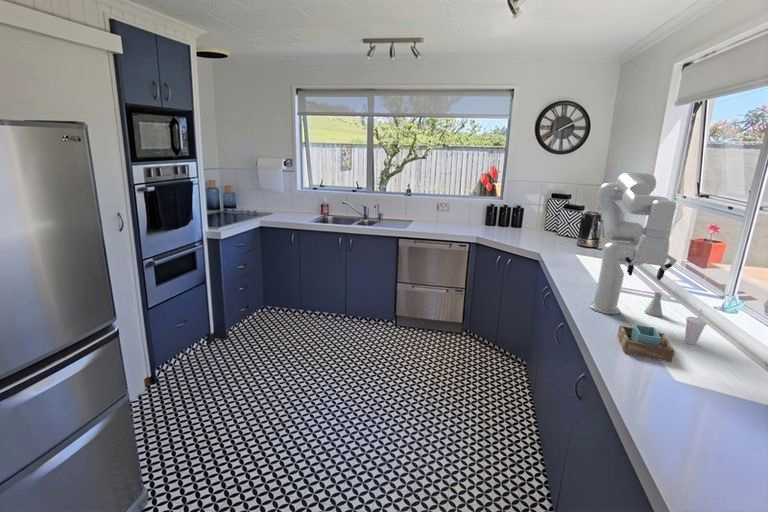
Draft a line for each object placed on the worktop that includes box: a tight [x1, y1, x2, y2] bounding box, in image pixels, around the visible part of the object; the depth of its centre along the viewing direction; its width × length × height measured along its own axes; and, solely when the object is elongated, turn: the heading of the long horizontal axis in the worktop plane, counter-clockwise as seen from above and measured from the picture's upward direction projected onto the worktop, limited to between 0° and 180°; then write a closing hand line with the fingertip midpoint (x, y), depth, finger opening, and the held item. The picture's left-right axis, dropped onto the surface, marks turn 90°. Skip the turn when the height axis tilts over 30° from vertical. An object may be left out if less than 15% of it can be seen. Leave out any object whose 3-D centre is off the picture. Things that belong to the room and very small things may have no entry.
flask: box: [644, 291, 663, 318], centre depth 189 cm, size 7×7×10 cm
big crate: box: [616, 325, 675, 363], centre depth 155 cm, size 15×15×4 cm
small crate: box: [631, 323, 661, 346], centre depth 154 cm, size 10×7×6 cm
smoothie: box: [684, 309, 708, 346], centre depth 161 cm, size 6×6×14 cm
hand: (643, 276), depth 159 cm, fingers open, 9 cm apart
